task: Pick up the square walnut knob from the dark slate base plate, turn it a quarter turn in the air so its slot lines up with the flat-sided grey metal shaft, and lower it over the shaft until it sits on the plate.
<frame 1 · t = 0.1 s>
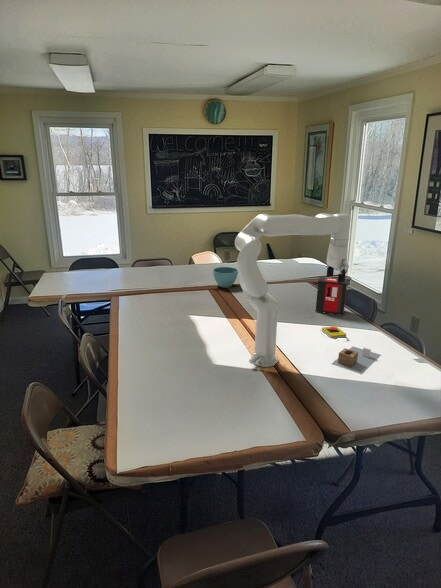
hand: (335, 279, 185), 37 cm above the table, tool pointing down, fingers open, 9 cm apart
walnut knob: (347, 362, 185), point 1 cm above the table, touching shaft plate
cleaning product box: (329, 311, 251), on the table
teal rounded bowl: (225, 286, 298), on the table
shaft plate: (356, 362, 188), on the table
emergency button: (333, 336, 216), on the table
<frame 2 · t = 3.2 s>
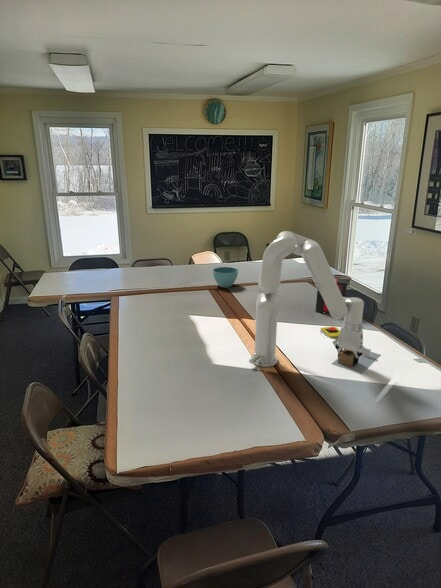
hand: (347, 361, 184), 2 cm above the table, tool pointing down, fingers closed on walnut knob, 6 cm apart
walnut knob: (347, 362, 185), point 1 cm above the table, touching gripper, shaft plate
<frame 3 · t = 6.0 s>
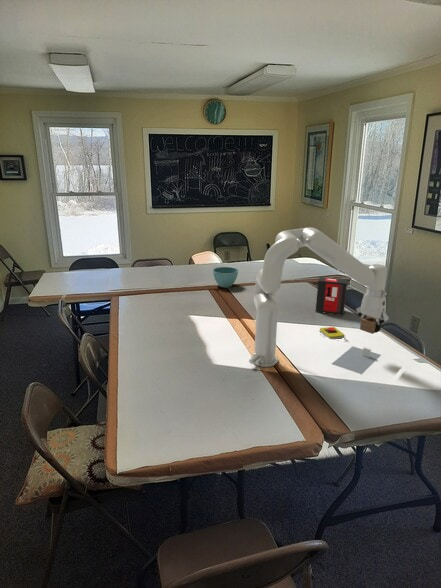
hand: (370, 329, 186), 15 cm above the table, tool pointing down, fingers closed on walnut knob, 6 cm apart
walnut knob: (370, 329, 187), point 15 cm above the table, touching gripper
when the fingers open (3 cm above the table, at t = 9.1 s): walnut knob stays where it is, resting on shaft plate.
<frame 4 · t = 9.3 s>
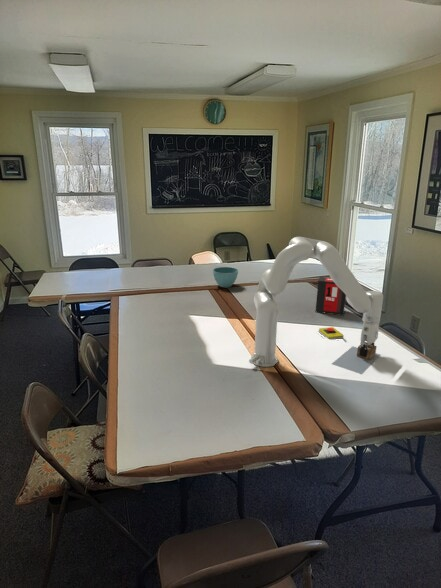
hand: (366, 352, 190), 3 cm above the table, tool pointing down, fingers open, 8 cm apart
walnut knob: (365, 356, 191), point 1 cm above the table, touching shaft plate
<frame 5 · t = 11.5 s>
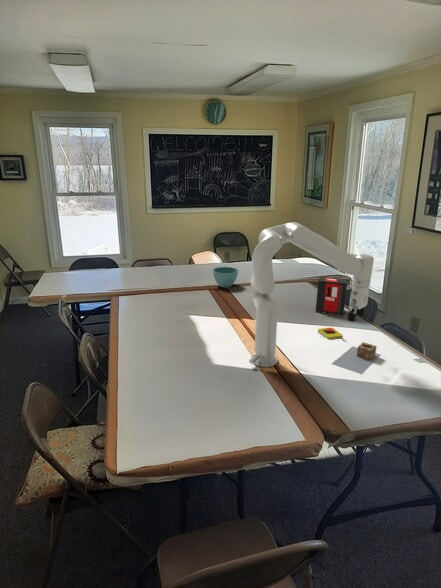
hand: (355, 318, 186), 20 cm above the table, tool pointing down, fingers open, 9 cm apart
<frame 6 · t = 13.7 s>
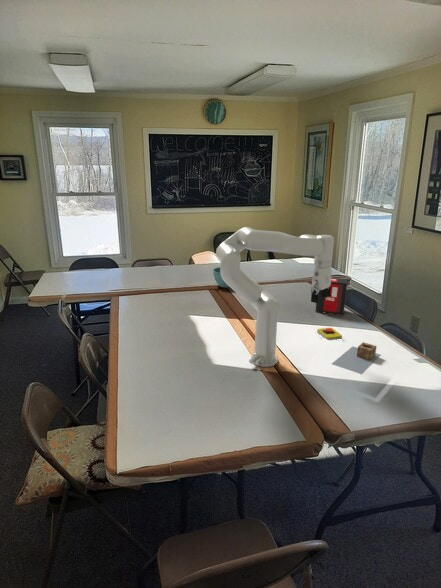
hand: (319, 299, 185), 28 cm above the table, tool pointing down, fingers open, 9 cm apart
at the end: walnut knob 0.0 cm from the target spot on the shaft plate, point 1.5 cm above the shaft plate's base; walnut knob tilted 0° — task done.
